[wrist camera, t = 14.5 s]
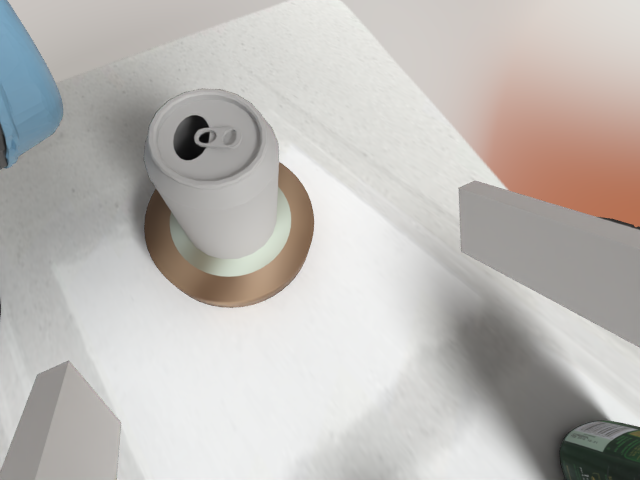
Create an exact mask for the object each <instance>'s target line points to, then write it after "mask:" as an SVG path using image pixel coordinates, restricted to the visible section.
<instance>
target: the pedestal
mask: <svg viewBox="0 0 640 480" xmlns="http://www.w3.org/2000/svg"><path fill="white" fill-rule="evenodd" d="M144 230H145V239H146V244H147V248H148V251H149V253H150V255H151V258H152V260H153V261H154V263H155V265H156V266H157V268H158V269H159V270H160V272H161V273H162V274H163V275H164V276H165V277H166V278H167V279H168V280H169V281H170V282H171V283H172V284H174V285H175V286H176V287H177V288H178V289H180V290H181V291H182V292H184V293H185V294H187V295H188V296H189V297H191V298H193V299H195V300H197V301H199V302H202V303H205V304H208V305H212V306H218V307H229V308H233V307H244V306H249V305H253V304H256V303H259V302H262V301H264V300H267V299H269V298H271V297H273V296H274V295H276V294H277V293H279V292H280V291H282V290H283V289H284V288H285V287H286V286H287V285H289V284H290V282H291V281H292V280H293V279H294V278H295V277H296V275H297V274H298V272H299V271H300V269H301V268H302V266H303V264H304V262H305V260H306V257H307V254H308V251H309V248H310V244H311V241H312V237H313V231H314V216H313V209H312V205H311V201H310V199H309V196H308V194H307V192H306V190H305V188H304V186H303V185H302V183H301V182H300V181H299V179H298V178H297V177H296V176H295V175H294V174H293V173H292V172H291V171H290V170H289V169H288V168H287V167H285V166H284V165H283V164H281V163H280V162H279V174H278V198H277V221H276V225H275V228H274V231H273V234H272V235H271V237H270V238H269V240H268V241H267V242H266V244H265V245H264V246H263V247H261V248H260V249H258V250H257V251H256V252H254V253H253V254H251V255H248V256H245V257H242V258H239V259H220V258H216V257H213V256H209V255H207V254H205V253H204V252H202V251H201V250H199V249H198V248H196V247H195V245H194V244H193V243H192V242H191V240H190V239H189V238H188V236H187V235H186V233H185V232H184V230H183V229H182V227H181V226H180V224H179V223H178V221H177V220H176V218H175V216H174V215H173V213H172V212H171V210H170V209H169V207H168V206H167V204H166V203H165V201H164V200H163V198H162V197H161V195H160V193H159V192H158V190H157V189H155V191H154V193H153V195H152V197H151V199H150V201H149V204H148V207H147V211H146V215H145V225H144Z"/></svg>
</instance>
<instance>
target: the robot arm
mask: <svg viewBox="0 0 640 480" xmlns="http://www.w3.org/2000/svg"><path fill="white" fill-rule="evenodd" d="M62 117H63V104H62V99H61V96H60V93H59V90H58V88H57V85H56V83H55V81H54V79H53V77H52V75H51V73H50V71H49V69H48V67H47V65H46V63H45V61H44V59H43V58H42V56H41V54H40V52H39V51H38V49H37V47H36V45H35V44H34V42H33V40H32V39H31V37H30V35H29V34H28V32H27V31H26V29H25V27H24V26H23V24H22V23H21V21H20V19H19V18H18V16H17V15H16V13H15V12H14V10H13V8H12V7H11V5H10V4H9V2H8V1H7V0H0V170H1V169H2V168H6V169H7V168H9V167H11V166H12V164H14V163H16V162H17V159H18V156H20V155H21V154H23V153H25V152H26V151H28V150H29V149H31V148H32V147H34V146H35V145H37V144H38V143H40V142H41V141H43V140H44V139H46V138H47V137H49V136H50V135H52V134H53V133H54V132H55V130H56V129H57V127H58V126H59V123H60V121H61V120H62ZM459 210H460V238H461V252H463V253H465V254H467V255H469V256H471V257H473V258H474V259H476V260H478V261H480V262H482V263H484V264H486V265H487V266H489V267H491V268H493V269H495V270H497V271H499V272H500V273H502V274H504V275H506V276H508V277H510V278H512V279H513V280H515V281H517V282H519V283H521V284H523V285H525V286H526V287H528V288H530V289H532V290H534V291H536V292H538V293H539V294H541V295H543V296H545V297H547V298H549V299H551V300H552V301H554V302H556V303H558V304H560V305H562V306H564V307H565V308H567V309H569V310H571V311H573V312H575V313H577V314H578V315H580V316H582V317H584V318H586V319H588V320H590V321H591V322H593V323H595V324H597V325H599V326H601V327H603V328H604V329H606V330H608V331H610V332H612V333H614V334H616V335H617V336H619V337H621V338H623V339H625V340H627V341H629V342H630V343H632V344H634V345H636V346H638V347H640V227H634V225H632V224H628V223H624V222H621V221H618V220H614V219H610V218H601V217H595V216H591V215H588V214H585V213H581V212H578V211H575V210H572V209H568V208H565V207H561V206H558V205H555V204H551V203H548V202H545V201H541V200H538V199H535V198H531V197H528V196H525V195H521V194H518V193H515V192H511V191H508V190H505V189H501V188H498V187H495V186H491V185H488V184H485V183H481V182H478V181H473V182H471V183H469V184H466V185H464V186H462V187H460V188H459ZM0 315H1V305H0ZM120 432H121V422H120V420H119V419H118V418H117V417H116V416H115V414H114V413H113V412H112V411H111V410H110V409H109V407H108V406H107V405H106V404H105V403H104V401H103V400H102V399H101V398H100V397H99V396H98V394H97V393H96V392H95V391H94V390H93V388H92V387H91V386H90V385H89V384H88V382H87V381H86V380H85V379H84V378H83V377H82V375H81V374H80V373H79V372H78V371H77V369H76V368H75V367H74V366H73V365H72V364H71V362H70V361H67V362H65V363H62V364H60V365H58V366H56V367H53V368H51V369H49V370H47V371H44V372H42V373H40V374H38V375H37V377H36V379H35V382H34V385H33V387H32V390H31V392H30V395H29V398H28V400H27V403H26V406H25V408H24V411H23V413H22V416H21V419H20V421H19V424H18V427H17V429H16V432H15V435H14V437H13V440H12V442H11V445H10V448H9V450H8V453H7V456H6V458H5V461H4V464H3V466H2V469H1V471H0V480H117V469H118V457H119V444H120Z"/></svg>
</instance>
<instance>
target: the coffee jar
mask: <svg viewBox="0 0 640 480" xmlns="http://www.w3.org/2000/svg"><path fill="white" fill-rule="evenodd" d="M560 461H561V466H562V469H563V473H564V476H565V480H640V427H637V426H633V425H628V424H624V423H619V422H614V421H596V422H590V423H586V424H584V425H581V426H579V427H577V428H575V429H573V430H572V431H571V432H569V433H568V434H567V435H566V436H565V438H564V440H563V442H562V445H561V447H560Z"/></svg>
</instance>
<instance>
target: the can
mask: <svg viewBox="0 0 640 480" xmlns="http://www.w3.org/2000/svg"><path fill="white" fill-rule="evenodd" d="M144 162H145V166H146V169H147V172H148V176H149V178H150V180H151V181H152V183H153V184H154V186H155V187H156V189H157V190H158V192H159V193H160V195H161V197H162V198H163V200H164V201H165V203H166V204H167V206H168V207H169V209H170V210H171V212H172V213H173V215H174V216H175V218H176V220H177V221H178V223H179V224H180V226H181V227H182V229H183V230H184V232H185V233H186V235H187V236H188V238H189V239H190V240H191V242H192V243H193V244H194V245H195V247H196V248H198V249H199V250H201V251H202V252H204V253H205V254H207V255H209V256H213V257H216V258H220V259H239V258H242V257H245V256H248V255H251V254H253V253H254V252H256V251H257V250H258V249H260V248H261V247H263V246H264V245H265V244H266V242H267V241H268V240H269V238H270V237H271V235H272V234H273V231H274V228H275V225H276V221H277V198H278V174H279V146H278V141H277V139H276V136H275V134H274V131H273V129H272V127H271V126H270V125H269V123H268V122H267V121H266V120H265V119H264V118H263V117H262V115H261V113H260V112H259V111H258V110H257V109H256V108H255V107H254V106H253V104H252V103H250V102H249V101H247V100H245V99H244V98H242V97H241V96H239V95H237V94H234V93H231V92H228V91H224V90H221V89H198V90H193V91H188V92H184V93H182V94H180V95H178V96H176V97H174V98H172V99H170V100H168V101H167V102H166V103H165V104H164V105H163V106H162V107H161V108H160V109H159V110H158V111H157V112H156V113H155V115H154V117H153V119H152V121H151V123H150V125H149V129H148V137H147V139H146V141H145V151H144Z"/></svg>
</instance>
